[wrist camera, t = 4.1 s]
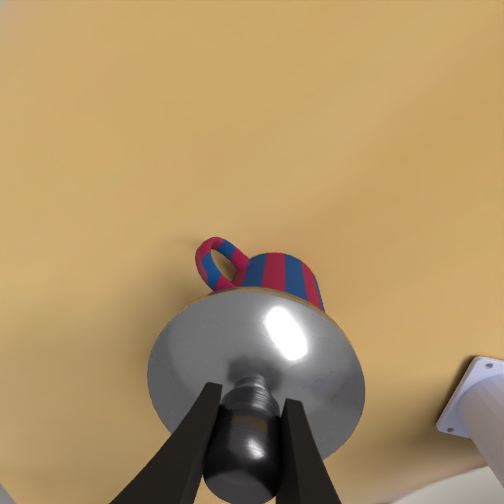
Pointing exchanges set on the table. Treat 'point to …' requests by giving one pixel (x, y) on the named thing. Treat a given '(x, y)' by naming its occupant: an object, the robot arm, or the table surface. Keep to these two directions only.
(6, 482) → the table surface
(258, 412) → the lid
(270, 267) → the mug
